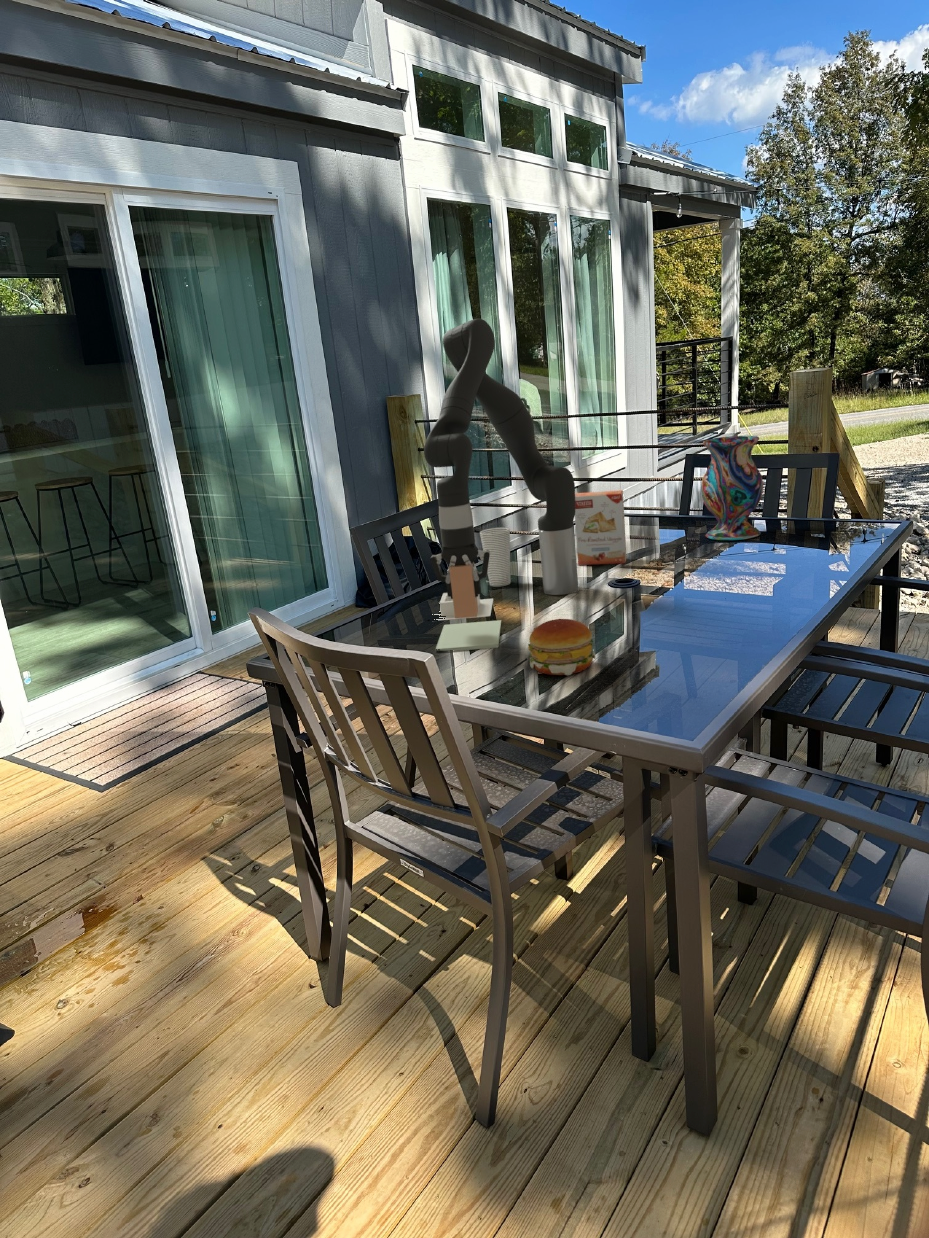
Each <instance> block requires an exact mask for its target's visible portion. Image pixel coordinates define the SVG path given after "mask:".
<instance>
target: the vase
mask: <svg viewBox="0 0 929 1238" xmlns="http://www.w3.org/2000/svg"><path fill="white" fill-rule="evenodd" d="M759 440H760V437H759V436H757V435H734V436H733V435H730V436H722V437H715V438H709V439H705V440H703V442H702V445H704V446H705V448H706V449H707V450H708V451H709V454H710V459H711V461H710V463H709V465H708V467H707V469H706V471H705V473H704V475H703V477H702V479H701V487H700V490H701V498H702V500H703V504H704V505H705V506H706V508H707V510H708V511H709V512H710V513H711V514H712V515H713V516H714V517H715V519H716V521H717V522H718V523H717V524H716V525H715V526H714V527H713V528H712V529H710V530H708V532H707V533H705V537H706V539H707V538H708V539H711V540H716V541H739V540H741V541H742V540H748V539H753V538H756V537H758V536H760V535H761V534H762V532H761V531H760V530H759V529H758V528H756V527H755V526H753V525H751V524H750V522H749V521H748V519H749V517H750V516H751V515H752V513H753V512H754V511H755V509H756V508H757V507H758V505H759V503H760V502H761V500H762V497H763V492H764V481H763V476H762V474H761V472H760V470H759V468H758V467H757V465H756V463H755V462H754V460H753V458H752V450H753V448H754V447H755V445H756V444H757V442H759Z"/></svg>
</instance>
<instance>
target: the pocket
mask: <svg viewBox="0 0 929 1238" xmlns="http://www.w3.org/2000/svg"><path fill="white" fill-rule="evenodd" d="M438 603H439V604H440V611H439V612H441V614H434V615H439V616H440V615H441V616H446V617H439V618H443V619H436V620H438V621H449V620H462V619H463V618H455V613H454V604H453V599H451V597H449V596H448V594H447V592H443V593H442V596H441V599H440V601H439V602H438ZM477 603H478V614H477V617H476V618H484V617H491V613H492V609H493V605H494V598H484V599H481V597H480V595H479V596H478V597H477ZM432 615H433V614H432ZM444 618H445V619H444ZM473 618H475V617H468V618H467V619H473ZM434 620H435V619H434Z"/></svg>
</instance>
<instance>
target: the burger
mask: <svg viewBox="0 0 929 1238" xmlns="http://www.w3.org/2000/svg"><path fill="white" fill-rule="evenodd" d="M592 638H593V634H592V632H591V630H590V628H588V626H587V625H586V624H584V623H583V622H580V621H578V620H574V619H571V618H557V619H551V620H547V621H545V622H543V623H542V622H541V624H539V625H538V626H536V627H535V628H534V629H533V630H532V632H531V633H530V634H529V643H528V644H527V646H528V647H527V649H528V650H529V651H530V654H529V656H528V658H529V665H530V668H531V669H535V670H536V671H537V672H539V673H541V674H546V675H551V676H571V675H572V674H576V673H580V672H582V670H583V671H586V668H587V667H588V668H589V667H590V666H591V664H592V662H593V659H596V657H597V656H596V652H595V651H594V650H593V644H594V642H593V639H592ZM588 668H587V669H588Z"/></svg>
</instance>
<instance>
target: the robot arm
mask: <svg viewBox="0 0 929 1238" xmlns="http://www.w3.org/2000/svg"><path fill="white" fill-rule="evenodd" d="M495 344H496V341H495V334H494V331H493V329H492V327H491V326H490V324H489V323H488V322H487V321H486V320H485V319H482V318H474V319H470V320H468V321H466V322H463V323H461V324H460V325H457V326H455V327H452V328H450V329H449V330H447V331H446V332H445V333H444V334H443V336H442V346H443V350H444V352H445V354H446V357H447V358H448V361H450V364H451V365H452V367H453V368H454V369H455V371H457V374H456V376H455V377H454V379H453V380H452V381H451V382H450V384H449V386H448V387H447V390H446V391H445V393H444V396H443V400H442V403H441V406H440V412H439V417H438V418H437V420H436V421H435V424H434V426H433V427H432V428H431V431H430V432H429V434H428V435H427V437H426V440H425V442H424V446H423V455H424V456H423V457H424V460H425V461H426V463H427V464H428V465H429V466H430V467H432V468H451V467H454V473H452V475H450V476H447V477H443V478H441V479H439V480H438V481H437V482H436V494H437V502H438V503H437V504H438V520H439V521H438V525H439V528H440V537H441V546H442V548H441V549H442V550H441V553H438V554H433V555H431V557H430V559H429V560H430V561H429V562H430V564H431V565H432V569H433V571H434V574H435V577H436V580H437V582H440V583H441V582H442V583H445V584H446V593H447V594H448V596H449V597H451V599H453V596H452V587H451V579H450V570H449V567H454V566H459V565H472V564H473V565H472V572H473V579H474V590H475V597H478V596H480V594H481V593H482V586H481V580H482V579H485V578H486V577H488V573H487V571H488V564H489V557H490V551H489V550H486V551H483V550H479V548H478V547H477V544H476V536H475V526H474V519H473V517H474V516H473V510H472V506H471V501H470V491H469V490H470V489H469V477H470V470H471V469H470V468H471V463H472V458H473V444H472V442H471V439H470V438H469V437H468V435H467V434H466V433H467V431H468V430H469V428H470V425H471V419H472V417H473V416H472V415H473V409H474V407H475V406H474V404H475V400H477V401H478V403H479V404H480V406H481V408H482V409H483V410H484V412H485V414H486V416H487V417H488V420H489V421H490V423H491V424H492V426H493V428H494V429H495V431H496V433H497V435H498V436H499V438H500V439H501V441H502V442H503V444H504V445H505V447H506V449H507V450H508V452H509V454H510V456H511V457H512V458H513V460H514V462H515V463H516V466H517V467H518V470H519V472H520V474H521V476H522V478H523V481H524V482H525V485H526V487H527V489H528V491H529V493H530V494H531V495H532V496H533V497H534V498H535V499H536V500H539V501H540V502H546V504H545V505H546V508H545V509H546V512H545V513H544V515H542V516H540V517H539V518H538V519H537V529H538V539H539V550H540V562H541V563H540V564H541V573H542V575H541V576H542V586H543V593H544V594H546V595H550V596H562V595H564V596H565V595H569V594H573V593H578V592H580V590H579V589H580V588H579V578H578V566H577V565H578V564H577V563H578V560H577V552H576V542H575V541H576V540H575V530H574V521H575V510H576V509H575V494H576V486H575V484H576V483H575V478H574V475H573V474H572V472H571V471H570V470H569V469H568V468H566V467H564V466H559V465H558V466H556V465H555V466H553V465H549V464H548V462H546V460H545V459H544V457H543V456H542V454H541V452H540V451H539V449H538V446H537V444H536V443H537V442H536V435H535V425H534V420H533V417H532V416H531V414H530V412H529V410H528V408H527V407H526V404H525V402H524V401H523V400H522V398H521V397H520V396H519V395H518V394H517V393H516V392H515V391H513V390H512V389H510V388H509V387H507V386H505V385H504V384H502V383H500V382H499V381H497V380H495V379H494V378H492V376H490V375H489V374H487V372H486V370H487V368H488V365H489V364H490V360H491V359H492V356H493V353H494V350H495ZM478 556H479V558H480V559H479V560H481V561H482V568H481V571H478V569H477V567H476V566H477V565H475V562H474V561H475V560H476V559H477V557H478ZM442 560H444V562H445V563H446V564H447V565H448V568H447V573H446V574H444V573H443V570H442V567H441V565H440V564H441V562H442Z"/></svg>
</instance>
